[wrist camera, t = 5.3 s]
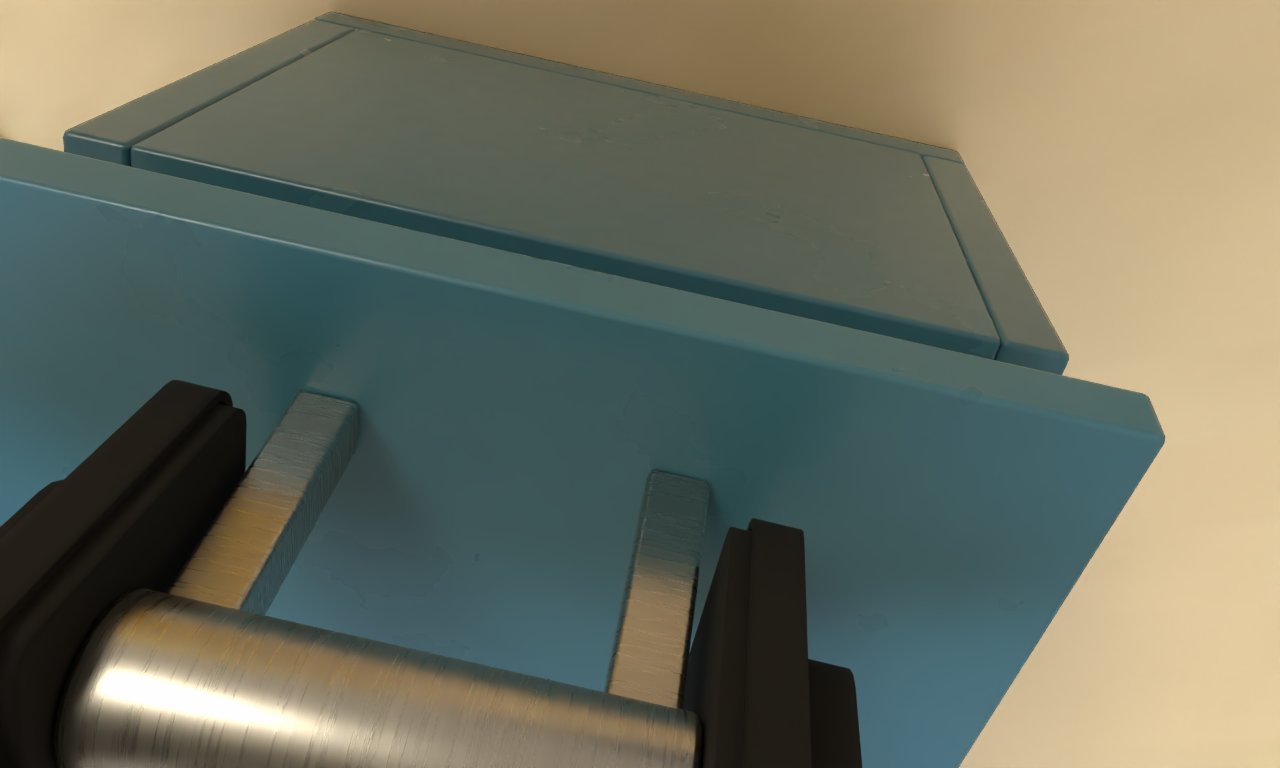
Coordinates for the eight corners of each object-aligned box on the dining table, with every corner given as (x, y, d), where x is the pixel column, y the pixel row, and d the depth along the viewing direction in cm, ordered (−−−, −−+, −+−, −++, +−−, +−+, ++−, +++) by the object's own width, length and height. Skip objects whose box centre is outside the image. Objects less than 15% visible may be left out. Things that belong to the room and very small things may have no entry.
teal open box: (329, 10, 22) (59, 130, 14) (959, 150, 22) (1073, 357, 13) (305, 549, 29) (117, 844, 20) (782, 656, 29) (785, 996, 20)
